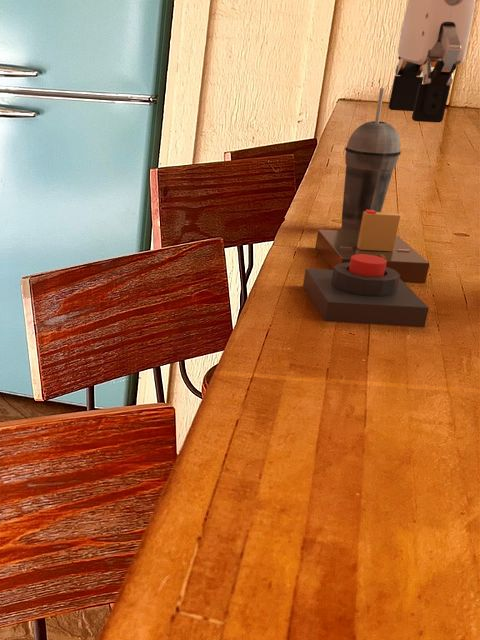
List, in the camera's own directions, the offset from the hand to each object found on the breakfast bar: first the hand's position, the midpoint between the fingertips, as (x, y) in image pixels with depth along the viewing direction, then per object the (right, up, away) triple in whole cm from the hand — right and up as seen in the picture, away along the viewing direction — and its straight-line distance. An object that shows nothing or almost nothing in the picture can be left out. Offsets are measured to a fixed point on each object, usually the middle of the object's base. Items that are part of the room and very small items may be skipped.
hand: (413, 115), depth 104 cm
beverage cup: (+3, -11, +23) cm, 26 cm away
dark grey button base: (-9, -23, -7) cm, 26 cm away
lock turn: (-3, -15, +5) cm, 16 cm away
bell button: (-9, -20, -9) cm, 23 cm away
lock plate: (-2, -17, +8) cm, 19 cm away
